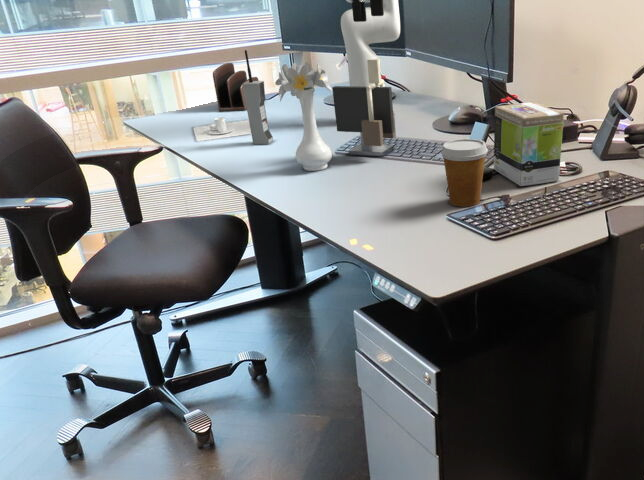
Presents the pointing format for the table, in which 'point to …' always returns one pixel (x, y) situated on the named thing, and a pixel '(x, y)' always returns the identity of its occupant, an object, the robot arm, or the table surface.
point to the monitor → (363, 114)
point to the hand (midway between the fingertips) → (369, 18)
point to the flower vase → (307, 112)
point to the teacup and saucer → (222, 129)
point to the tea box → (528, 143)
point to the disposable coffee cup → (464, 170)
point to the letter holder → (230, 87)
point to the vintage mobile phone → (256, 109)
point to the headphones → (372, 127)
